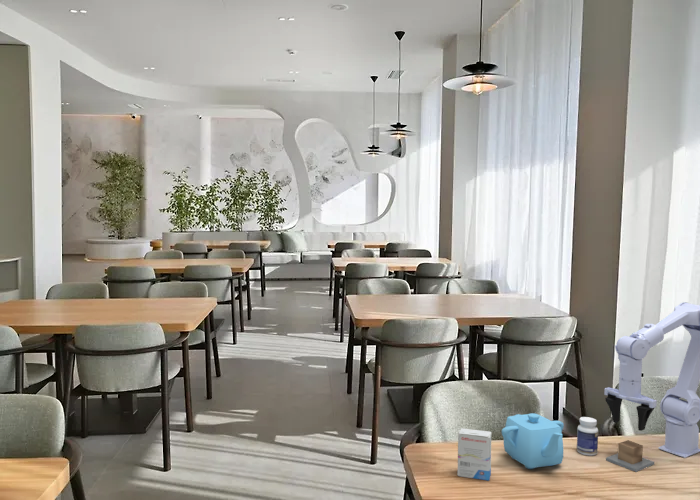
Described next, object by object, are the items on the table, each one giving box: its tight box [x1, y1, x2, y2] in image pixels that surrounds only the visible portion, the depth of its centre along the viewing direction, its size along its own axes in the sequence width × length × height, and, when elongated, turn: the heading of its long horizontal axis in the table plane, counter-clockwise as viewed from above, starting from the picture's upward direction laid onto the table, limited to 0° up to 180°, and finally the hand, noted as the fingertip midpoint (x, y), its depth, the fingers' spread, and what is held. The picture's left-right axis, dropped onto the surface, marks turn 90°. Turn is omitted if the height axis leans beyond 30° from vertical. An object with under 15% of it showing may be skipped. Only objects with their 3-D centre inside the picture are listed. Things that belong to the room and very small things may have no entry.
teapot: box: [501, 412, 565, 470], centre depth 167 cm, size 18×16×14 cm
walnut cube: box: [617, 439, 644, 464], centre depth 167 cm, size 4×4×4 cm
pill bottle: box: [576, 416, 599, 457], centre depth 174 cm, size 6×6×10 cm
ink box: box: [457, 427, 492, 482], centre depth 158 cm, size 9×5×12 cm, turn 71°
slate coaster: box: [605, 452, 655, 473], centre depth 167 cm, size 9×9×1 cm
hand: (628, 425), depth 169 cm, fingers open, 7 cm apart
